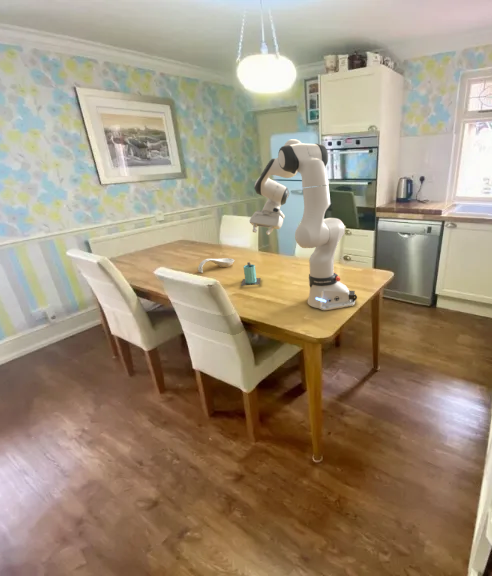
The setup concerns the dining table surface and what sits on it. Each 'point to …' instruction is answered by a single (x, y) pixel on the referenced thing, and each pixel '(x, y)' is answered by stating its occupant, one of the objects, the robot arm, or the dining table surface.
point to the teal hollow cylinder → (250, 274)
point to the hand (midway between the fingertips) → (260, 233)
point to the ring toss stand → (251, 283)
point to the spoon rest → (220, 262)
